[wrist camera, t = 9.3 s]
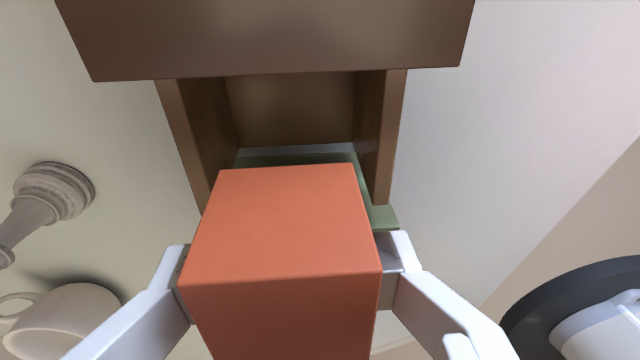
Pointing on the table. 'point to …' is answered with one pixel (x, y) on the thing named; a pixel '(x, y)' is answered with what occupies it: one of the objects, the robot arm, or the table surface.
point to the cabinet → (262, 36)
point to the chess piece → (42, 203)
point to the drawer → (289, 126)
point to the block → (284, 266)
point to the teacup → (57, 320)
